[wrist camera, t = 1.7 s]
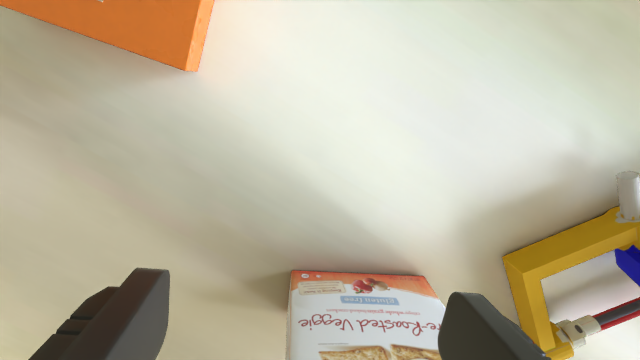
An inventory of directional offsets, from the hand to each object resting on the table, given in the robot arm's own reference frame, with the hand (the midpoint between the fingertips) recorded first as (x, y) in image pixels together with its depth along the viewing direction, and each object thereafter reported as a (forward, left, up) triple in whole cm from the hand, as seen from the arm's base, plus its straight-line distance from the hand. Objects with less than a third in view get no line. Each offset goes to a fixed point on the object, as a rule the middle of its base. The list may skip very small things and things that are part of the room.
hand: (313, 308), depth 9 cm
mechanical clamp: (-2, +37, -20) cm, 42 cm away
